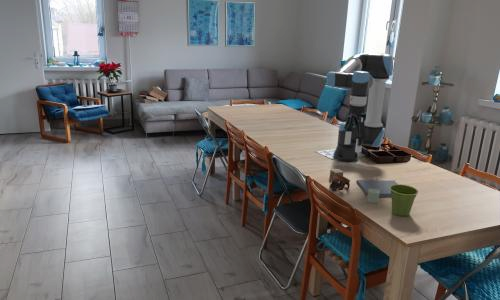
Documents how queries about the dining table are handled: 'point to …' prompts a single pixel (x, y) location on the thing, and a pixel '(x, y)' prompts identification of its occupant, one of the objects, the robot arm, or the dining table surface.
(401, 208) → the plant pot
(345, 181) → the pottery mug
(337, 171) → the walnut block
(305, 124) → the dining table surface
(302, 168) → the dining table surface
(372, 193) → the sage block
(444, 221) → the dining table surface
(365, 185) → the slate mat
